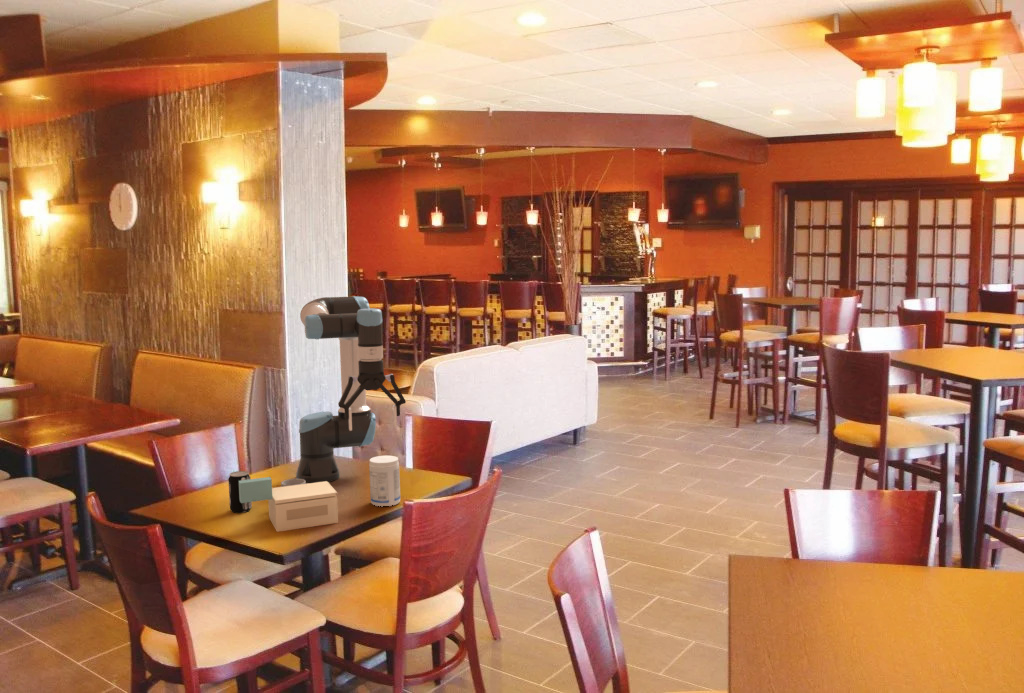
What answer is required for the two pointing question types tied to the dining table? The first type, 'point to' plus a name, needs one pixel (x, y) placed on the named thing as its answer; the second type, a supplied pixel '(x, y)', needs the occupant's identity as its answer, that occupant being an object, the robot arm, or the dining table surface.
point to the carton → (303, 513)
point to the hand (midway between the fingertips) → (372, 428)
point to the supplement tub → (384, 480)
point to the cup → (292, 482)
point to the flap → (282, 491)
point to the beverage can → (237, 492)
